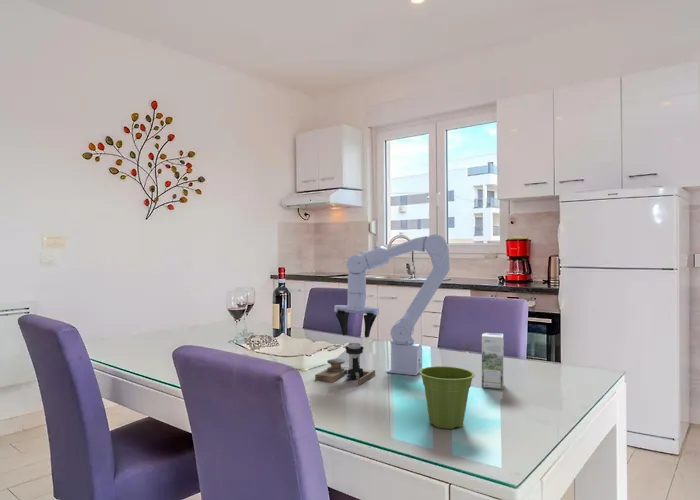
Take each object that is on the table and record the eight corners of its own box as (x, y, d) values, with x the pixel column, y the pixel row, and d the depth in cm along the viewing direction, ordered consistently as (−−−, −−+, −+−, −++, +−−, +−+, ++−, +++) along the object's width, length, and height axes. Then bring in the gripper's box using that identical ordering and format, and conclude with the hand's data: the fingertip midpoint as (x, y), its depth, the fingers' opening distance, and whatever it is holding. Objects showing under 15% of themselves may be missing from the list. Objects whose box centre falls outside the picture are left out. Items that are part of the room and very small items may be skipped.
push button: (350, 382, 141) (350, 347, 141) (338, 378, 145) (338, 344, 145) (367, 378, 146) (367, 344, 146) (354, 374, 150) (354, 341, 150)
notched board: (375, 375, 149) (375, 361, 149) (359, 385, 138) (359, 370, 138) (333, 370, 155) (333, 357, 155) (315, 379, 144) (315, 365, 144)
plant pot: (482, 433, 103) (482, 378, 103) (425, 434, 102) (426, 379, 102) (464, 413, 115) (464, 365, 115) (414, 415, 114) (414, 366, 114)
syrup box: (503, 384, 139) (503, 332, 139) (503, 390, 134) (503, 336, 134) (482, 382, 141) (482, 331, 141) (481, 388, 136) (481, 335, 136)
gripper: (330, 292, 156) (329, 335, 157) (373, 295, 151) (372, 340, 151) (339, 290, 163) (339, 332, 163) (381, 293, 157) (380, 336, 157)
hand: (355, 335), depth 157 cm, fingers open, 7 cm apart
